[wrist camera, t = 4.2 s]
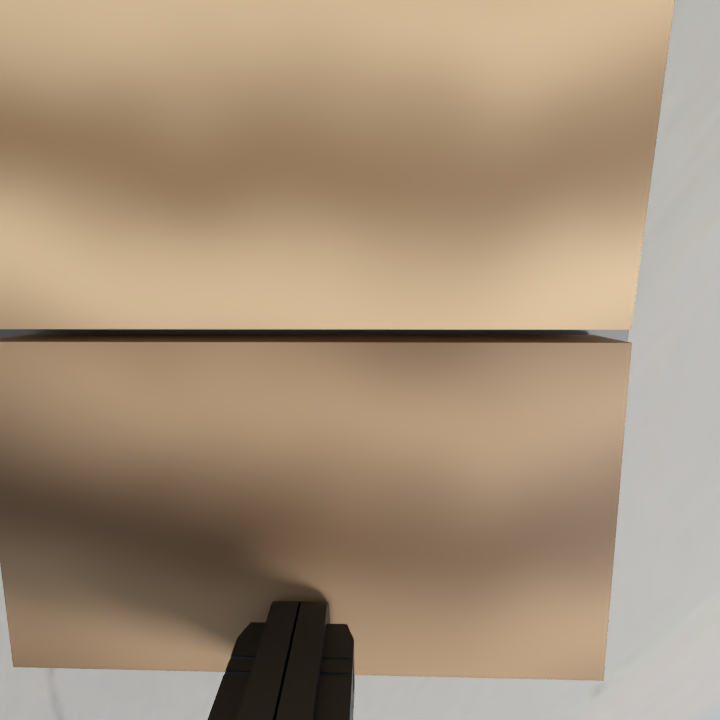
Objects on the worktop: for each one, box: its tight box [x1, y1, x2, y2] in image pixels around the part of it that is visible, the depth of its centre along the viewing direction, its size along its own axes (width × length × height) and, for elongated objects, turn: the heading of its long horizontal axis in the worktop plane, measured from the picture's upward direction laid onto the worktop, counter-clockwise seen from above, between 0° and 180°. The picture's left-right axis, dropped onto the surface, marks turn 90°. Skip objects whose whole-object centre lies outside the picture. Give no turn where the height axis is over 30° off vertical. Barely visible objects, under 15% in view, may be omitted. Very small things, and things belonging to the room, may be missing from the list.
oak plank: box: [0, 0, 675, 330], centre depth 12 cm, size 8×16×2 cm, turn 90°
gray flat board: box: [0, 329, 629, 342], centre depth 14 cm, size 20×18×1 cm
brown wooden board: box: [0, 334, 632, 681], centre depth 13 cm, size 9×16×2 cm, turn 90°
